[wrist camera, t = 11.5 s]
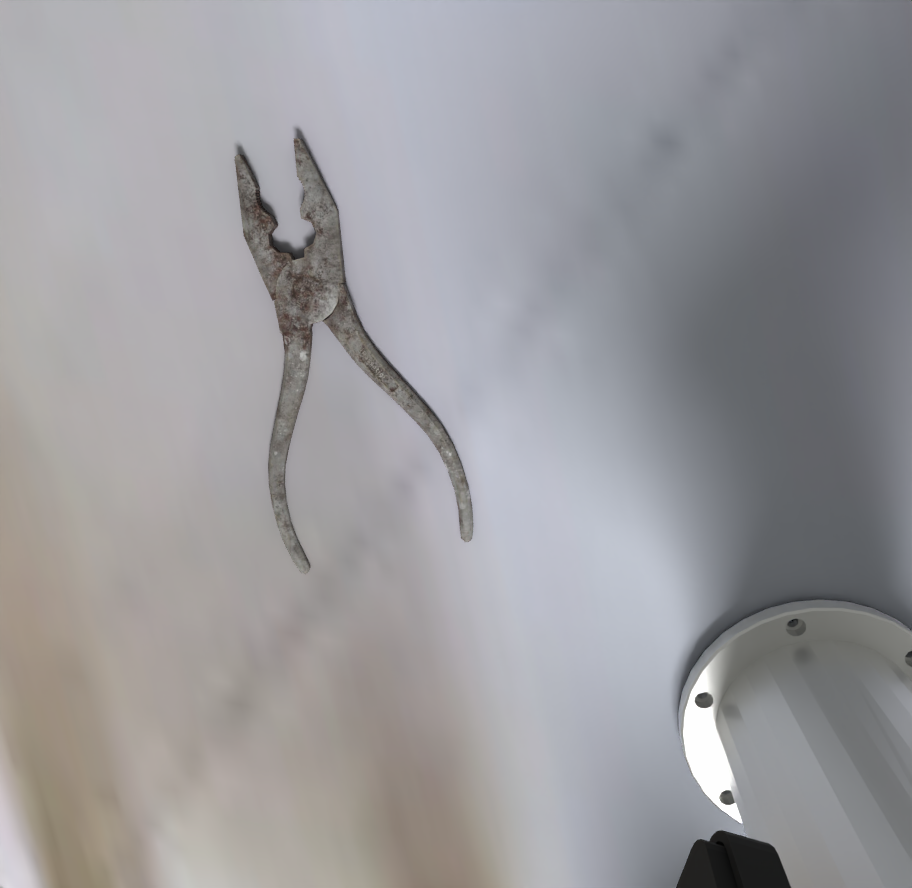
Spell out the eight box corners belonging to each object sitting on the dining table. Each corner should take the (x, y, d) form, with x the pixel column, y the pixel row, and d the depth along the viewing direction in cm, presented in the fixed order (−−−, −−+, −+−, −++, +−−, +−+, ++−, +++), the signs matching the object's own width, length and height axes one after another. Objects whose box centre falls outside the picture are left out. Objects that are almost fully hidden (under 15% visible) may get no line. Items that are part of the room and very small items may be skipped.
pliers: (314, 606, 39) (107, 225, 35) (319, 598, 40) (117, 225, 36) (493, 533, 37) (295, 123, 34) (494, 527, 38) (301, 125, 34)
